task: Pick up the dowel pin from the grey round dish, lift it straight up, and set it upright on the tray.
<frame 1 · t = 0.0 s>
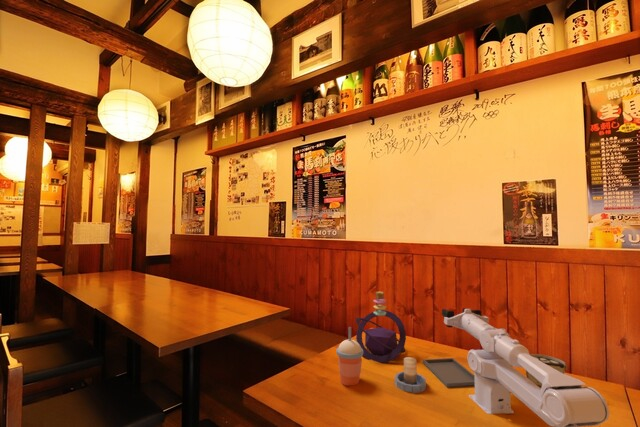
hand: (453, 311, 112), 22 cm above the table, tool horizontal, fingers open, 7 cm apart
tray: (450, 374, 110), on the table
grey round dish: (410, 386, 102), on the table
decorative bottle: (380, 354, 128), on the table
cup with straw: (349, 382, 105), on the table
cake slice: (540, 389, 101), on the table
dowel pin: (410, 384, 102), resting on grey round dish
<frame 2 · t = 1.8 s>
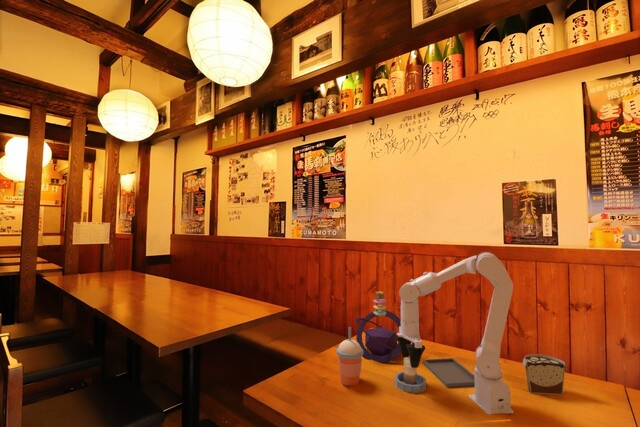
hand: (409, 361, 103), 8 cm above the table, tool pointing down, fingers open, 7 cm apart
nothing on the table moved.
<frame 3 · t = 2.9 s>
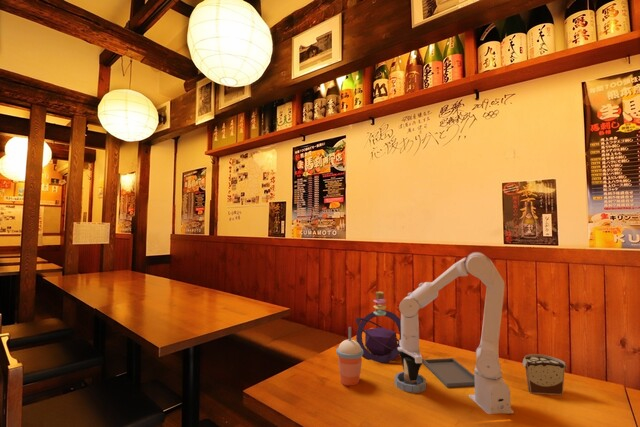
hand: (410, 376, 102), 3 cm above the table, tool pointing down, fingers closed on dowel pin, 4 cm apart
dowel pin: (410, 384, 102), resting on grey round dish, touching gripper
everything else where it was.
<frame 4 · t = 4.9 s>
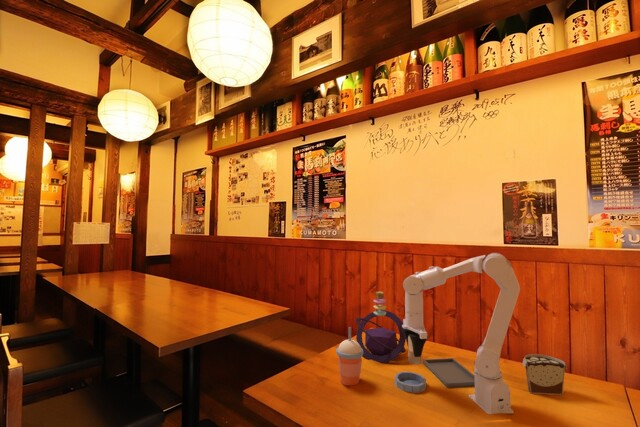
hand: (414, 353, 103), 10 cm above the table, tool pointing down, fingers closed on dowel pin, 4 cm apart
dowel pin: (414, 361, 103), point 8 cm above the table, touching gripper
everything else where it was.
when the fingers open (5 cm above the table, at t = 7.1 s): dowel pin drops 1 cm, resting on tray.
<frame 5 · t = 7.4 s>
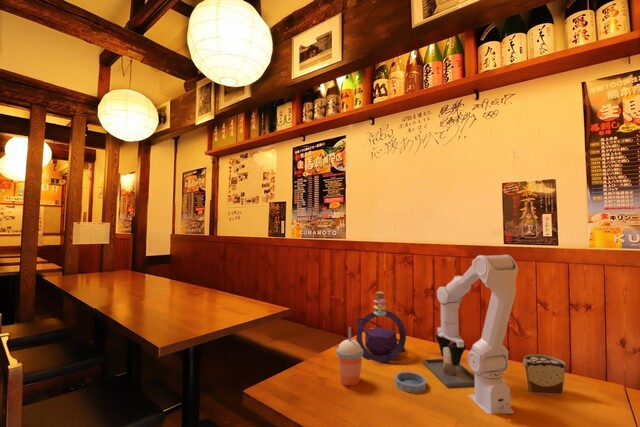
hand: (450, 360, 110), 5 cm above the table, tool pointing down, fingers open, 7 cm apart
dowel pin: (449, 372, 110), point 1 cm above the table, touching tray
everything else where it was.
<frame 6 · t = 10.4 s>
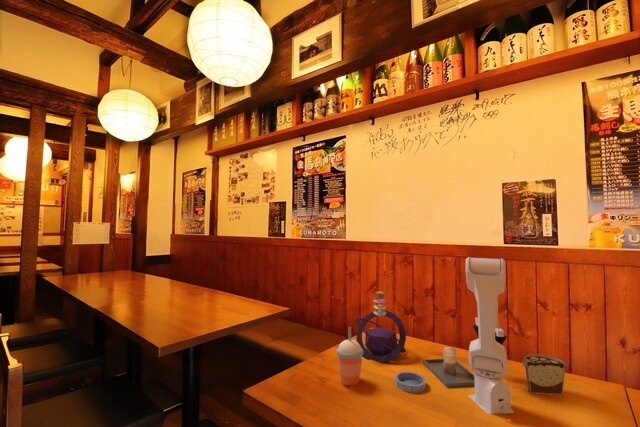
hand: (489, 350, 108), 9 cm above the table, tool pointing down, fingers open, 7 cm apart
nothing on the table moved.
at the end: dowel pin inside the target area on the tray (0.1 cm from its centre), point 0.8 cm above the tray's base; dowel pin tilted 1°; the gripper is holding nothing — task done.
